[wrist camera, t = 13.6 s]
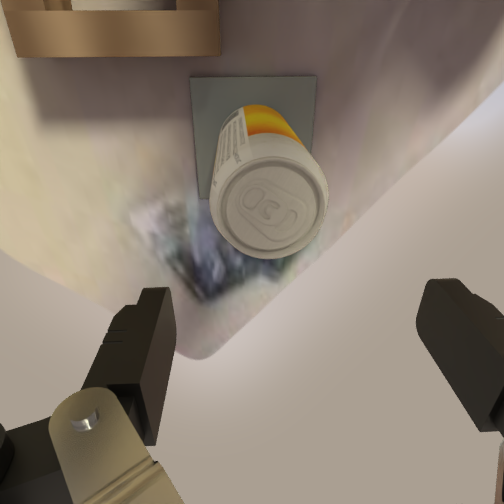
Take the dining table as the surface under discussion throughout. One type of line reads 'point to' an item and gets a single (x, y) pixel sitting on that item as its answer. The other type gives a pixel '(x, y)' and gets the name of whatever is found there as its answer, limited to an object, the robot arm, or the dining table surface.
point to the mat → (239, 95)
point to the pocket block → (112, 30)
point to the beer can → (265, 185)
